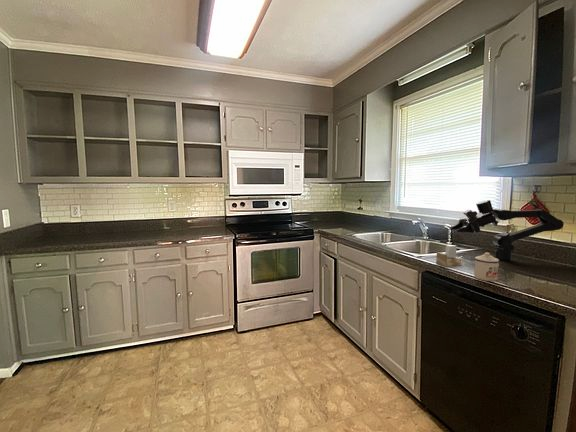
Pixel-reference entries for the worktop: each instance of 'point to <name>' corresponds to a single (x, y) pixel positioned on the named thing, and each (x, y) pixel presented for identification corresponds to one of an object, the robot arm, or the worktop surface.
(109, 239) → the worktop surface
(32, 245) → the worktop surface
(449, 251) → the white rectangular block
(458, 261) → the sleeve
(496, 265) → the teacup with lid
